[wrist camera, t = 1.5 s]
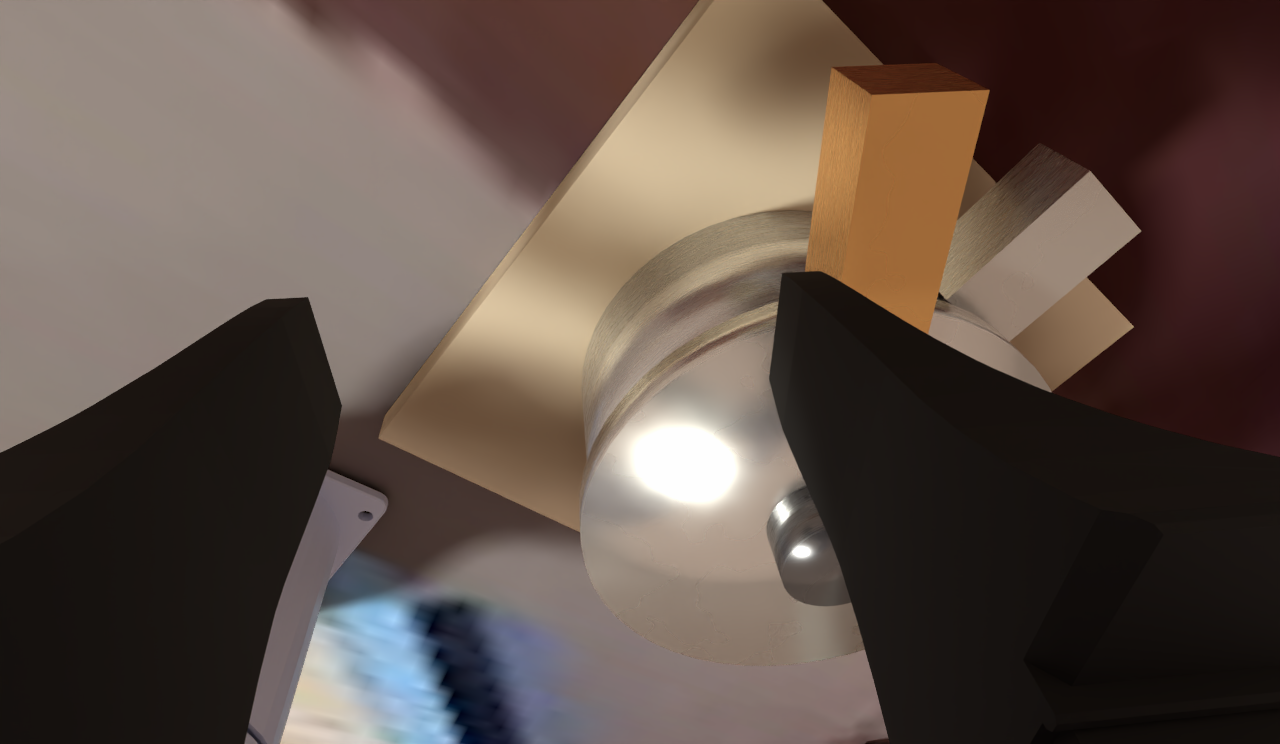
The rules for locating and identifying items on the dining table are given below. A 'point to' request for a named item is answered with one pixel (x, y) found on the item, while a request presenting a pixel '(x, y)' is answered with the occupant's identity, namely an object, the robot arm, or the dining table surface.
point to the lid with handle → (745, 408)
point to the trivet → (657, 245)
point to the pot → (778, 243)
